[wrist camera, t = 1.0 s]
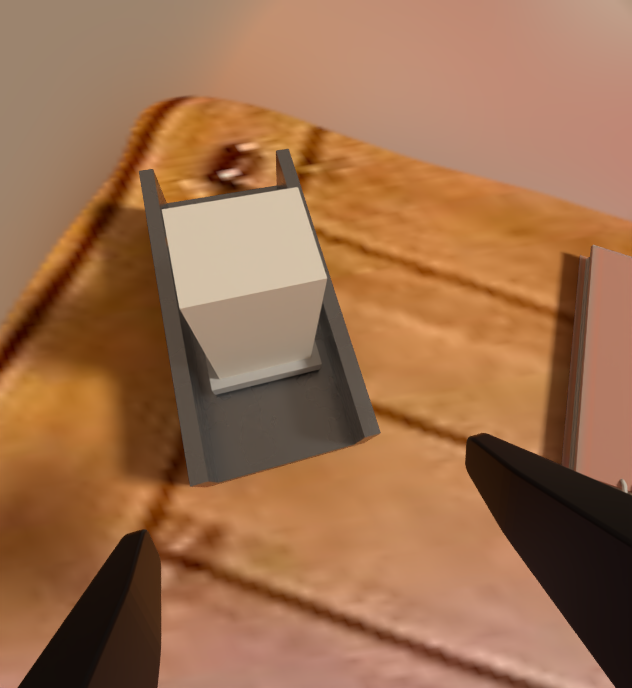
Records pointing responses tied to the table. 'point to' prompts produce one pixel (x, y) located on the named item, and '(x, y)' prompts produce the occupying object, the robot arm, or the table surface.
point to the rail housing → (263, 399)
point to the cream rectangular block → (249, 285)
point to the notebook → (601, 372)
